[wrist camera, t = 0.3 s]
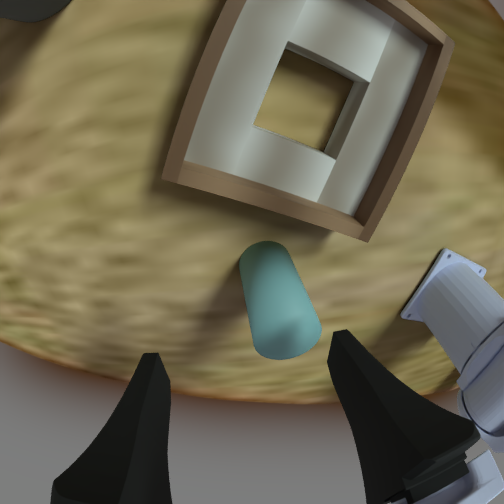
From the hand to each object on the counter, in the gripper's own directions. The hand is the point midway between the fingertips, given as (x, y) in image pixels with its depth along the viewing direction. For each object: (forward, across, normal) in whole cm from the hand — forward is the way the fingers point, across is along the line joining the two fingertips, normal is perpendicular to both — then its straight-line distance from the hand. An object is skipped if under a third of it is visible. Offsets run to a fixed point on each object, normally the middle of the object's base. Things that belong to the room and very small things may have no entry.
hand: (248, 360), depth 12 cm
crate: (+9, -5, -10) cm, 15 cm away
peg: (+10, -2, +2) cm, 10 cm away
